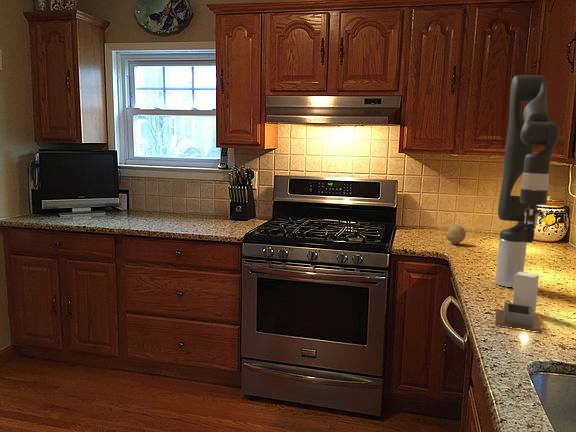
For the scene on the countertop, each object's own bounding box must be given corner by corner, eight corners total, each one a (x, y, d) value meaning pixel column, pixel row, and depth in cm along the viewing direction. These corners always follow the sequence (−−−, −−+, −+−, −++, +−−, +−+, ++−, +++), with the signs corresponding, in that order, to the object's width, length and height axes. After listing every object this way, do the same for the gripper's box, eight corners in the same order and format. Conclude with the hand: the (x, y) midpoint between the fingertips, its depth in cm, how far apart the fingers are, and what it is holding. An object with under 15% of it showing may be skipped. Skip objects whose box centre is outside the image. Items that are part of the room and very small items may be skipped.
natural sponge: (466, 247, 256) (468, 227, 254) (447, 245, 257) (449, 226, 256) (463, 243, 265) (464, 224, 263) (445, 242, 266) (446, 223, 265)
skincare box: (536, 312, 162) (540, 274, 160) (531, 315, 158) (535, 277, 156) (515, 307, 166) (519, 270, 164) (510, 310, 162) (514, 273, 160)
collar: (495, 312, 160) (496, 299, 160) (538, 318, 156) (539, 305, 155) (495, 325, 148) (496, 312, 148) (541, 333, 144) (542, 319, 143)
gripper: (522, 186, 165) (517, 236, 167) (519, 188, 153) (514, 242, 155) (548, 187, 162) (543, 238, 164) (547, 190, 149) (542, 245, 151)
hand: (529, 240), depth 159 cm, fingers open, 8 cm apart
